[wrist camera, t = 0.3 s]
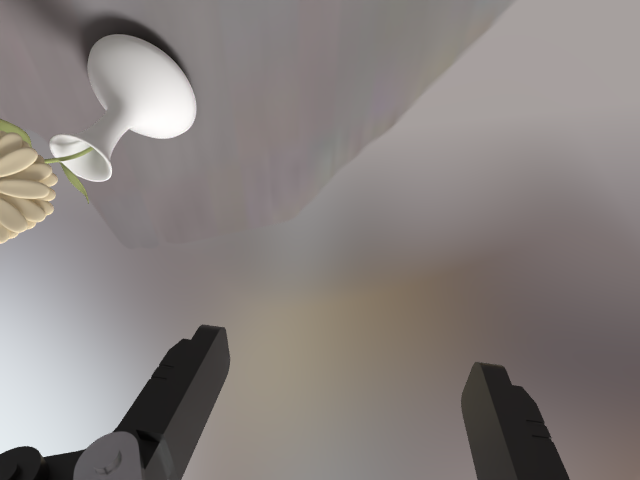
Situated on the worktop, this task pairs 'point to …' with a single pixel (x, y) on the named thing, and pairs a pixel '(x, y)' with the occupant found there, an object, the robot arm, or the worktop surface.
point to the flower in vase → (95, 128)
